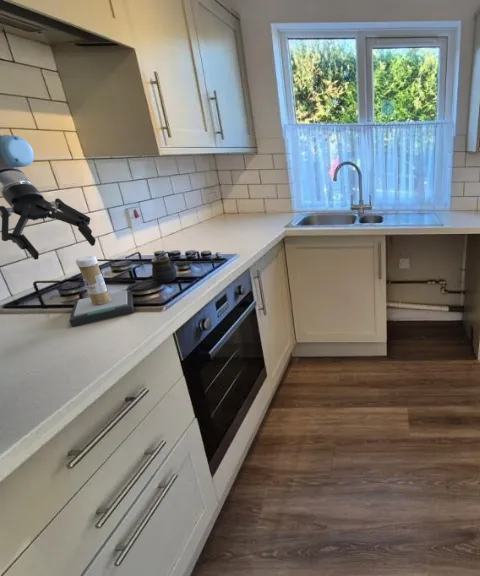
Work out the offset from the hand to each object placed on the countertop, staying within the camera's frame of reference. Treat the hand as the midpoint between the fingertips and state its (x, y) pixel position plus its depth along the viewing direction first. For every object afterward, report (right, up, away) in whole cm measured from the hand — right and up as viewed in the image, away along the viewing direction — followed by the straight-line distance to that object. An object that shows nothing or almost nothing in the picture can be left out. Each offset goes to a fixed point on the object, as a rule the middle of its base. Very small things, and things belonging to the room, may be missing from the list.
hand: (66, 249), depth 101 cm
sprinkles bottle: (+7, -15, +3) cm, 17 cm away
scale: (+8, -17, +4) cm, 19 cm away
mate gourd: (+14, -9, +24) cm, 29 cm away
